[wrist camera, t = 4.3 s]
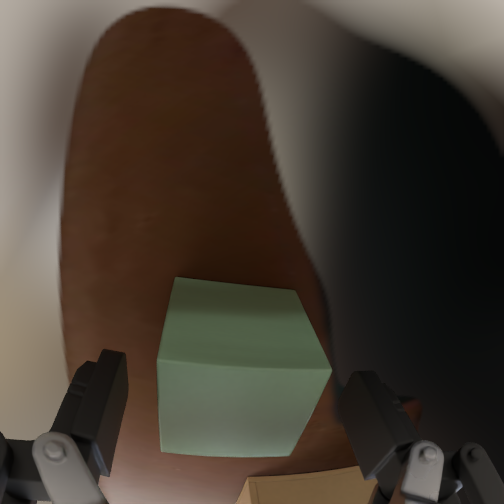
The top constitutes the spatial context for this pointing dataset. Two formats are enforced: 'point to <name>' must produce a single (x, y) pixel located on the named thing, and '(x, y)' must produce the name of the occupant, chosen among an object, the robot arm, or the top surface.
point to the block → (236, 370)
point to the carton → (309, 488)
